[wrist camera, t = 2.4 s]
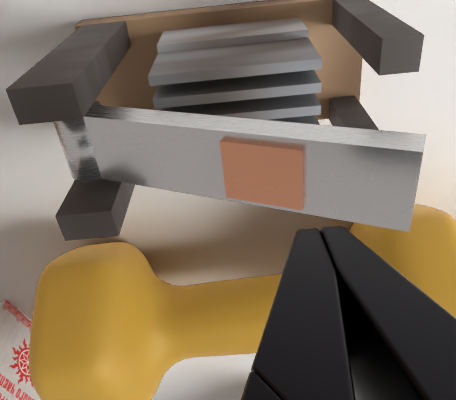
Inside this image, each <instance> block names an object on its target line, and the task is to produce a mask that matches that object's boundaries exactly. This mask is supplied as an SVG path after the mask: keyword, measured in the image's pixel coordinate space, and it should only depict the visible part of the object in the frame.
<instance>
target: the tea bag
mask: <svg viewBox="0 0 456 400" xmlns="http://www.w3.org/2000/svg"><path fill="white" fill-rule="evenodd" d="M31 325H32V323H31V322H30V321H29V320H27V319H26V318H25V317H24V316H23V315H22V314H21V313H20V312H19V311H17V310H16V309H15V308H14V307H13V306H12V305H11V304H10V303H9V302H8V301H6V300H3V301H1V302H0V400H41V399H40V397H39V396H38V394H37V392H36V390H35V388H34V386H33V383H32V380H31V376H30V372H29V345H30V334H31Z"/></svg>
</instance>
